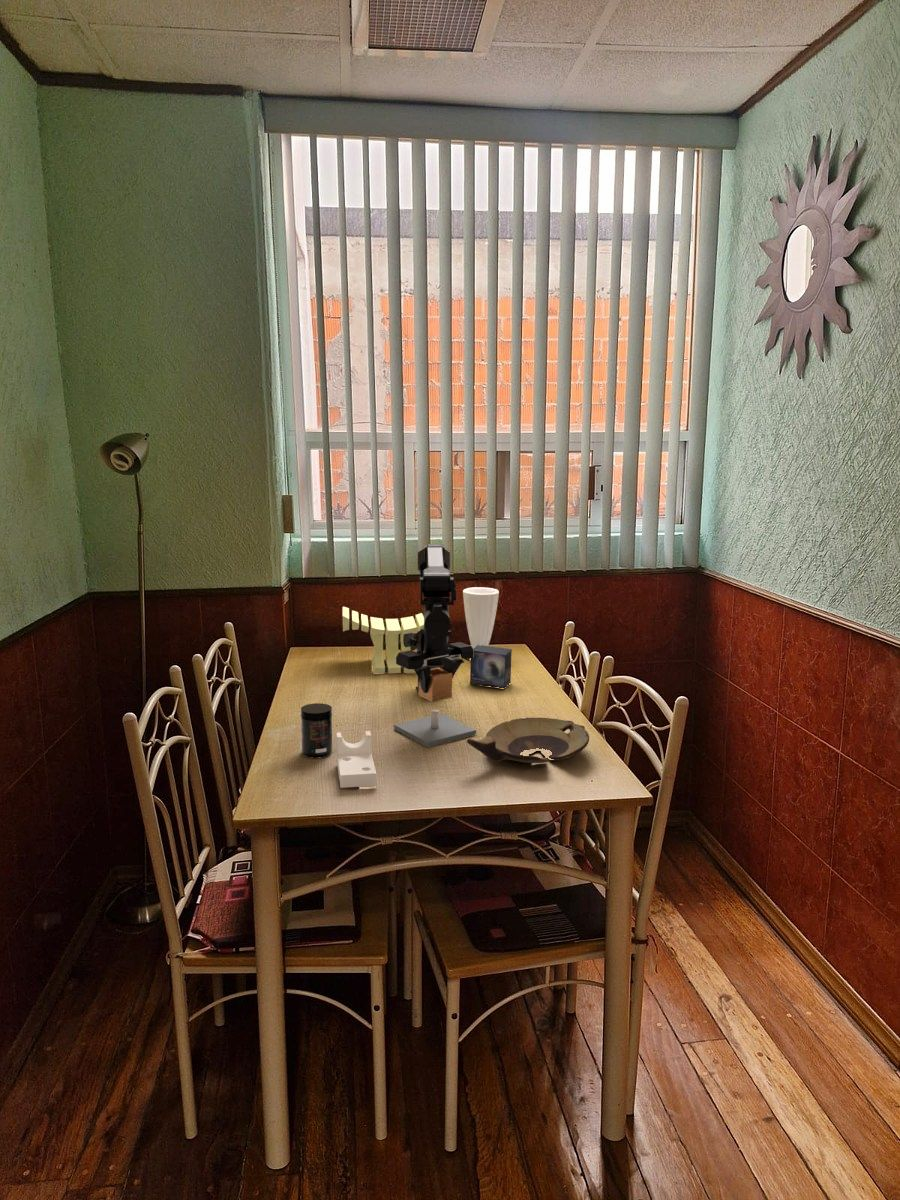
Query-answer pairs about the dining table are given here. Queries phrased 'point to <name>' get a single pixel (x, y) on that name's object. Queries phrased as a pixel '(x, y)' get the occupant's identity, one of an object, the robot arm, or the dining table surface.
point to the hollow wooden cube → (438, 685)
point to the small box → (491, 666)
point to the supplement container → (316, 730)
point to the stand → (434, 729)
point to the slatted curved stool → (391, 637)
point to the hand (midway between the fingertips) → (435, 690)
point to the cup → (480, 613)
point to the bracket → (355, 762)
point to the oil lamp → (532, 739)
